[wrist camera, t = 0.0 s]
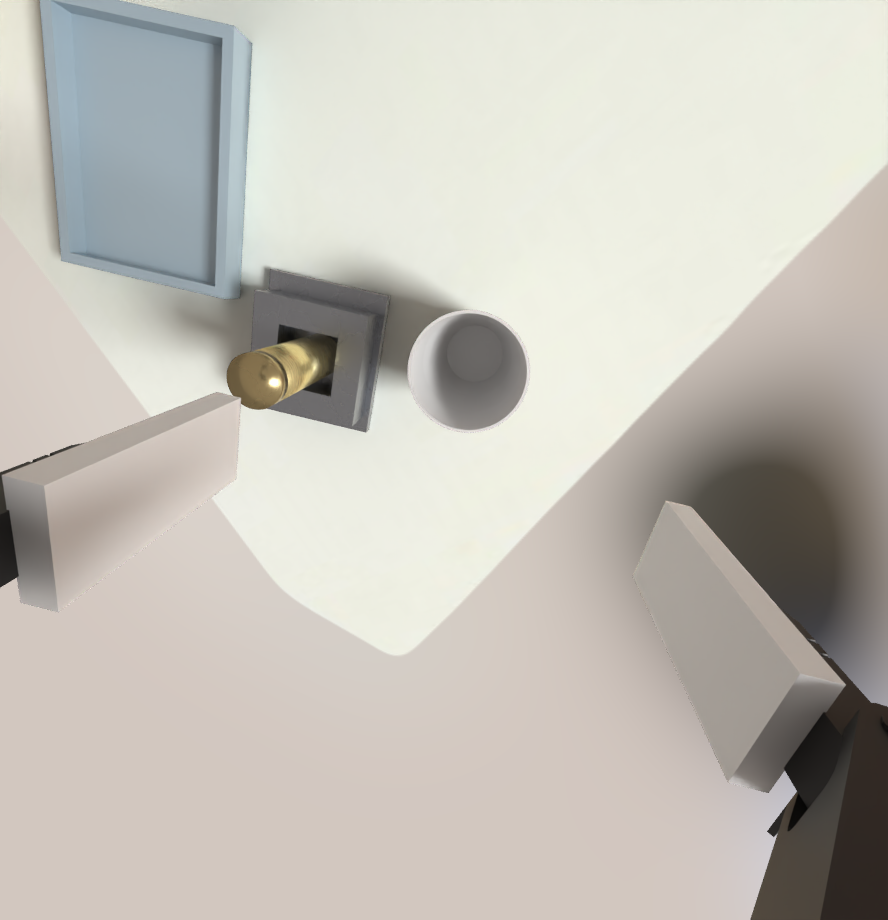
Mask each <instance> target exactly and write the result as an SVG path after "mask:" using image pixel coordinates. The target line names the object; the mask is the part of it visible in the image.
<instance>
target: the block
mask: <svg viewBox="0 0 888 920" xmlns="http://www.w3.org/2000/svg"><path fill="white" fill-rule="evenodd" d="M389 302H390V296H387V295H383V294H379V293H374V292H370V291H366V290H361V289H357V288H353V287H349V286H344V285H340V284H336V283H331V282H327V281H323V280H318V279H314V278H310V277H306V276H301V275H297V274H293V273H288V272H284V271H280V270H275V269H270V282H269V290H255V293H254V310H253V326H252V343H251V351H255V350H258V349H262V348H266V347H269V346H273V345H277V344H280V343H284V342H287V341H291V340H295V339H298V338H302V337H306V336H309V335H313V334H324V335H327V336H329V337H331V338H332V339H333V340H334V341H335V342H336V343H337V351H336V359H335V367H334V372H333V373H331V374H330V375H328V376H326V377H324V378H322V379H320V380H319V381H317V382H315V383H313V384H311V385H309V386H307V387H306V388H304V389H302V390H300V391H298V392H296V393H295V394H293V395H291V396H289V397H287V398H285V399H283V400H282V401H280V402H278V403H276V404H274V405H272V406H271V407H269V408H267V409H271V410H275V411H279V412H283V413H287V414H292V415H296V416H300V417H304V418H308V419H312V420H317V421H321V422H325V423H329V424H333V425H338V426H342V427H346V428H350V429H354V430H358V431H363V432H367V431H368V430H369V425H370V419H371V413H372V407H373V401H374V395H375V388H376V382H377V376H378V370H379V364H380V357H381V351H382V345H383V339H384V333H385V327H386V320H387V314H388V308H389Z"/></svg>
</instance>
